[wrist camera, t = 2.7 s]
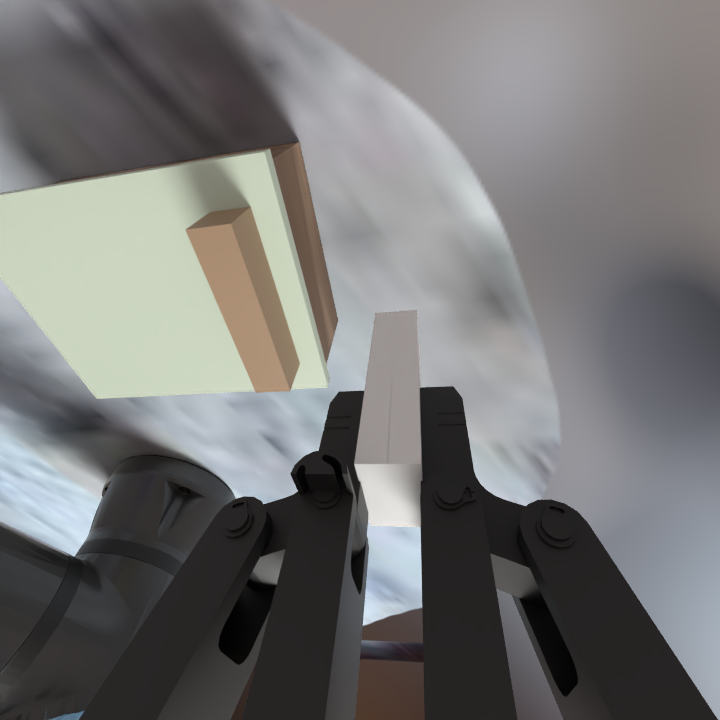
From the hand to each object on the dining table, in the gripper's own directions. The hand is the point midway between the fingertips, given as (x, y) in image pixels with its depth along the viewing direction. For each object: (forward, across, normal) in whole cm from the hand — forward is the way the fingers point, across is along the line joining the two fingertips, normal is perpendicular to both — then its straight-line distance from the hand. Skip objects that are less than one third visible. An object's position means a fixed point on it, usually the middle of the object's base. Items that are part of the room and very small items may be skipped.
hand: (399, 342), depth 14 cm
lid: (+6, -13, 0) cm, 15 cm away
